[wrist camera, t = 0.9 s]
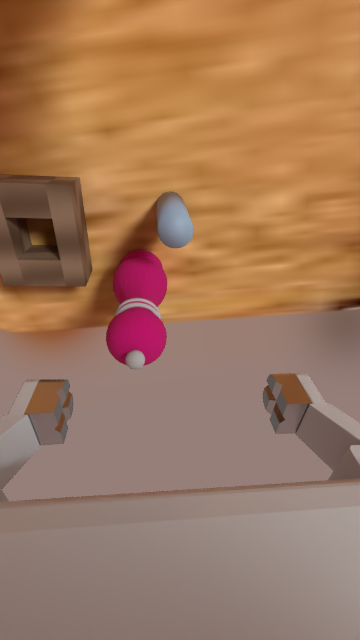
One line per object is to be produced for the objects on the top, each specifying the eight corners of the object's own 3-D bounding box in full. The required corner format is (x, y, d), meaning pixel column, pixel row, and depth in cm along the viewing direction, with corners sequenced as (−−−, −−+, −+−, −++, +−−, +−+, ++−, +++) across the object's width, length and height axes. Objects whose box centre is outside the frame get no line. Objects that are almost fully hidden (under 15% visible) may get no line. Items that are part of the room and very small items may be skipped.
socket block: (-9, 174, 33) (-32, 181, 29) (79, 177, 34) (69, 185, 30) (19, 269, 40) (4, 285, 36) (92, 269, 41) (85, 286, 37)
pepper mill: (126, 296, 44) (112, 401, 27) (108, 254, 40) (78, 347, 23) (171, 284, 43) (184, 383, 27) (157, 239, 39) (162, 325, 23)
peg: (156, 191, 35) (158, 211, 27) (184, 192, 36) (194, 213, 28) (156, 220, 37) (157, 247, 29) (183, 221, 38) (192, 248, 30)
